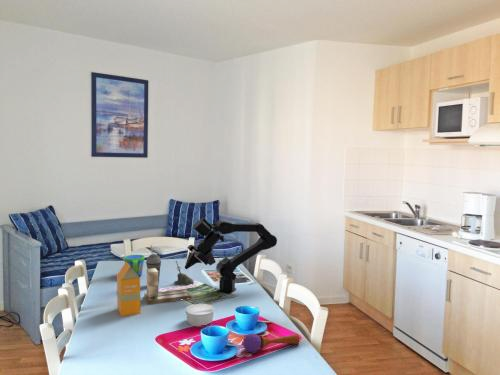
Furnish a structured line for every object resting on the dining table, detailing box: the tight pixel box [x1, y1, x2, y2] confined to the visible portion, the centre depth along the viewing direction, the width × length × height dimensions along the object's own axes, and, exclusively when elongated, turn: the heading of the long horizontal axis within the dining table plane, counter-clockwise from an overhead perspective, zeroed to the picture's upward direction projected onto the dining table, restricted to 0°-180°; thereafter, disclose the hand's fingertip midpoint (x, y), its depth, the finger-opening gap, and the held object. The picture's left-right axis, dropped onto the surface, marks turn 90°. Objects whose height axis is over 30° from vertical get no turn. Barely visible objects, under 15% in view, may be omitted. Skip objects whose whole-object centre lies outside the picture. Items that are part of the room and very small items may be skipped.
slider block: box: [146, 268, 159, 299], centre depth 187 cm, size 4×8×11 cm, turn 23°
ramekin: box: [185, 303, 215, 327], centre depth 165 cm, size 11×11×5 cm
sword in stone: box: [174, 260, 195, 286], centre depth 213 cm, size 10×8×12 cm
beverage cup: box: [145, 244, 162, 287], centre depth 208 cm, size 7×7×20 cm
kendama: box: [242, 333, 301, 353], centre depth 144 cm, size 6×6×20 cm
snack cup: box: [123, 254, 146, 277], centre depth 224 cm, size 16×10×10 cm
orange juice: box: [116, 261, 141, 317], centre depth 174 cm, size 8×9×20 cm
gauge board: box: [143, 288, 192, 305], centre depth 191 cm, size 19×10×2 cm, turn 113°
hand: (185, 268), depth 194 cm, fingers closed
